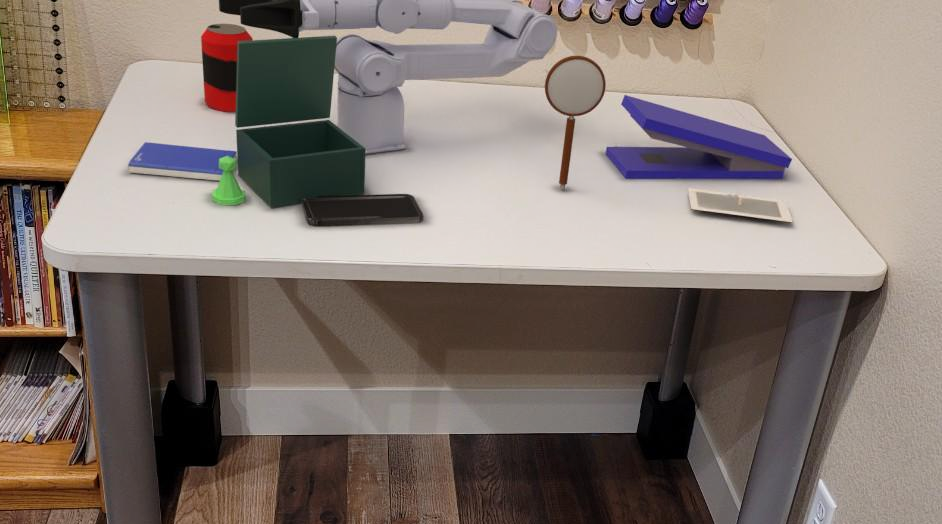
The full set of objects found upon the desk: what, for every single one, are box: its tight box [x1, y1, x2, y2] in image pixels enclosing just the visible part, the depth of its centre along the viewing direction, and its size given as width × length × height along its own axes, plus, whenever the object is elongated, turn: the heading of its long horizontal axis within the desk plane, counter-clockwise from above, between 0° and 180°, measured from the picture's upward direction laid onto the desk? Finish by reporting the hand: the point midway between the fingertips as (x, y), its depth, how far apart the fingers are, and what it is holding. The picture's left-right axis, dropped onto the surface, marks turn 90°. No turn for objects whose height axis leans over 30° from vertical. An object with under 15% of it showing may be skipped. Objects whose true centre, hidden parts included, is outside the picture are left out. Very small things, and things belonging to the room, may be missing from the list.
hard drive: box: [127, 141, 238, 182], centre depth 144 cm, size 2×8×12 cm
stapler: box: [605, 94, 793, 180], centre depth 167 cm, size 12×28×10 cm, turn 107°
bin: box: [235, 119, 366, 209], centre depth 142 cm, size 11×13×7 cm
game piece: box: [211, 156, 246, 206], centre depth 136 cm, size 4×4×6 cm
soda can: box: [200, 23, 254, 113], centre depth 164 cm, size 8×8×12 cm
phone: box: [301, 193, 424, 228], centre depth 139 cm, size 8×1×15 cm
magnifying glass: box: [544, 55, 607, 191], centre depth 149 cm, size 9×2×20 cm, turn 100°
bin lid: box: [234, 35, 338, 129], centre depth 140 cm, size 12×13×1 cm
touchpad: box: [687, 187, 793, 223], centre depth 155 cm, size 8×15×2 cm, turn 88°
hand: (230, 9), depth 138 cm, fingers open, 7 cm apart
